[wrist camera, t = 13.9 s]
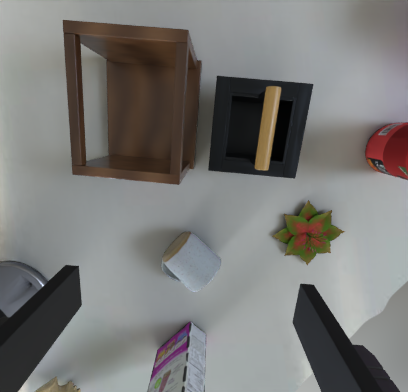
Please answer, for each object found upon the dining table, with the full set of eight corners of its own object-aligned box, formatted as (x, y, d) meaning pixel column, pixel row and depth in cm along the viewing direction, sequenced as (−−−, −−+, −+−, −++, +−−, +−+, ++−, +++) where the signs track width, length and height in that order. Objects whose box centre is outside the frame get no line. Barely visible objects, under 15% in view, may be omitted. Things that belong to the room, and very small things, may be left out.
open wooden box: (111, 160, 42) (67, 174, 30) (109, 55, 38) (56, 19, 25) (193, 168, 42) (184, 185, 29) (201, 62, 37) (194, 30, 25)
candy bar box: (174, 362, 54) (156, 459, 38) (156, 349, 53) (131, 443, 37) (208, 333, 51) (205, 425, 36) (191, 319, 51) (179, 407, 35)
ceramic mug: (190, 222, 45) (184, 241, 37) (221, 251, 46) (222, 275, 38) (153, 257, 47) (140, 282, 40) (184, 283, 48) (177, 312, 41)
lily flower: (305, 273, 46) (314, 288, 42) (259, 235, 45) (264, 247, 40) (355, 229, 43) (370, 240, 39) (307, 187, 42) (318, 194, 37)
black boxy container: (209, 163, 41) (206, 180, 28) (216, 84, 38) (217, 61, 25) (282, 170, 41) (314, 190, 28) (296, 91, 38) (340, 71, 24)
